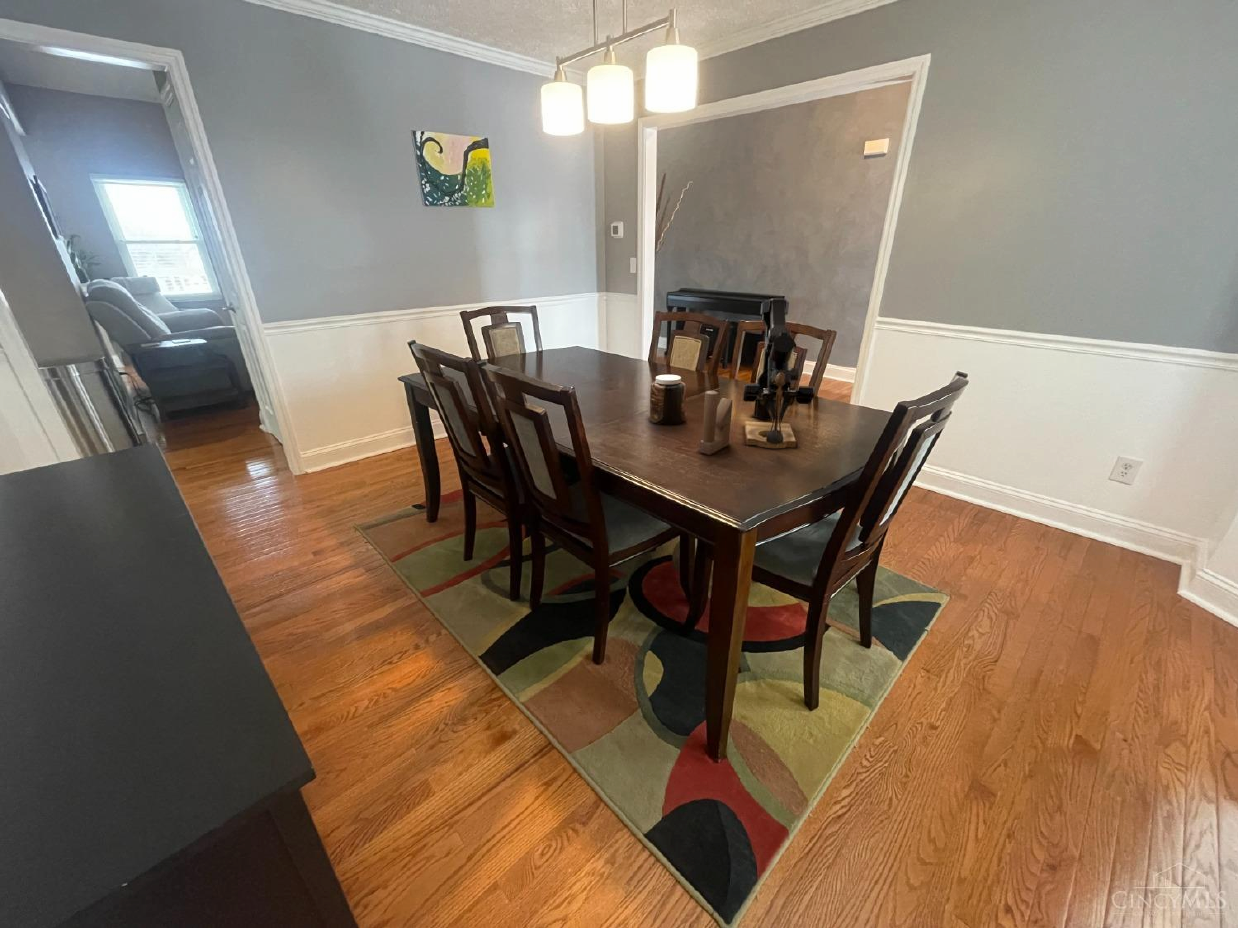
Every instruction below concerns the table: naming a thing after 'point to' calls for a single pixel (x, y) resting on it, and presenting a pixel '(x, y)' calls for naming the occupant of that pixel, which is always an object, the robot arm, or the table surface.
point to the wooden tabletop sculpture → (777, 412)
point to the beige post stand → (715, 423)
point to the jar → (667, 400)
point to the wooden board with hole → (761, 429)
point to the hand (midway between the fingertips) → (777, 421)
